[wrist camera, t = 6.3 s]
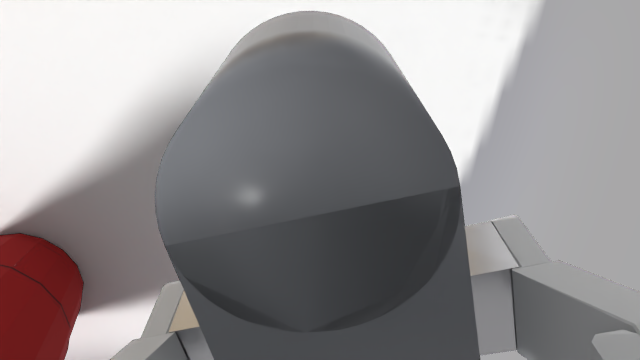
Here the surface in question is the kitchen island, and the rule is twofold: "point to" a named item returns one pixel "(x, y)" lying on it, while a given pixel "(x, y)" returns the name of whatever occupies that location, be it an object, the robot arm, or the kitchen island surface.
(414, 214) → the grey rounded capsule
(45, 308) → the plastic cup
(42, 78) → the kitchen island surface
